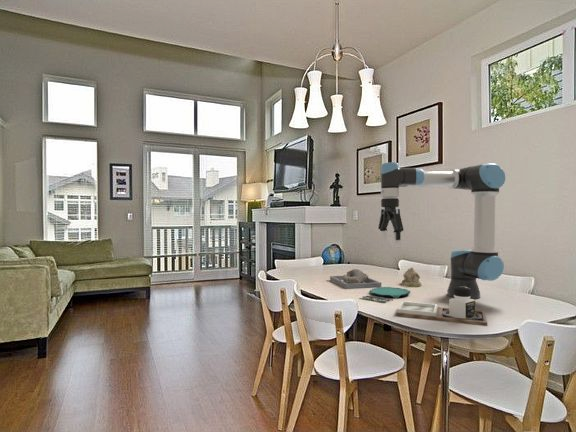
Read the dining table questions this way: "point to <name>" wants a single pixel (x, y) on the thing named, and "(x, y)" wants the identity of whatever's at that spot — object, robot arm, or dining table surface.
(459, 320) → the board
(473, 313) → the medicine bottle
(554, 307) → the dining table surface
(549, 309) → the dining table surface
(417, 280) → the ceramic model
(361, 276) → the grey rounded lump
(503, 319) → the dining table surface
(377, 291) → the cutlery set
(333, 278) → the grey rectangular tray
